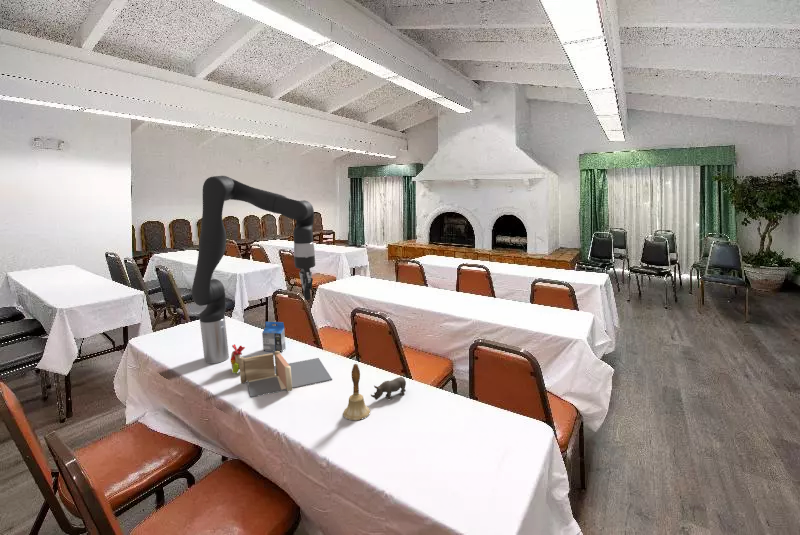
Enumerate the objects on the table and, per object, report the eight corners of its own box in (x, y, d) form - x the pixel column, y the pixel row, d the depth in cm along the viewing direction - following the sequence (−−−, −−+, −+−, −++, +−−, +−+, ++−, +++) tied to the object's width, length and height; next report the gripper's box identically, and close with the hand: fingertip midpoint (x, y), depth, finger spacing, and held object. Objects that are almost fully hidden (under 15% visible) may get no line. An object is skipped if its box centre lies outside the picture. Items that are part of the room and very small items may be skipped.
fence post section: (240, 381, 145) (238, 357, 144) (281, 373, 151) (279, 350, 149) (241, 383, 144) (238, 359, 142) (282, 375, 149) (280, 352, 148)
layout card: (246, 372, 154) (245, 371, 153) (318, 358, 165) (318, 357, 165) (250, 397, 135) (250, 396, 135) (332, 380, 146) (332, 378, 146)
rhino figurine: (367, 400, 132) (367, 383, 131) (403, 389, 139) (402, 373, 138) (373, 406, 128) (372, 388, 127) (409, 394, 135) (409, 377, 134)
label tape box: (263, 351, 174) (260, 324, 171) (267, 347, 178) (265, 321, 175) (282, 352, 172) (280, 325, 170) (286, 348, 176) (284, 321, 174)
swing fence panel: (282, 375, 149) (280, 353, 147) (292, 390, 137) (291, 367, 136) (277, 376, 148) (275, 354, 147) (287, 391, 137) (285, 368, 135)
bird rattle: (226, 377, 155) (235, 374, 148) (219, 349, 156) (227, 345, 150) (242, 371, 159) (251, 369, 153) (235, 344, 160) (244, 341, 154)
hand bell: (355, 403, 130) (353, 357, 127) (375, 410, 125) (374, 363, 122) (337, 415, 123) (335, 366, 120) (358, 423, 119) (356, 373, 116)
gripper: (291, 253, 155) (294, 296, 158) (297, 258, 143) (300, 304, 146) (310, 251, 158) (313, 294, 161) (318, 256, 146) (321, 302, 149)
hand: (307, 299), depth 154 cm, fingers closed
